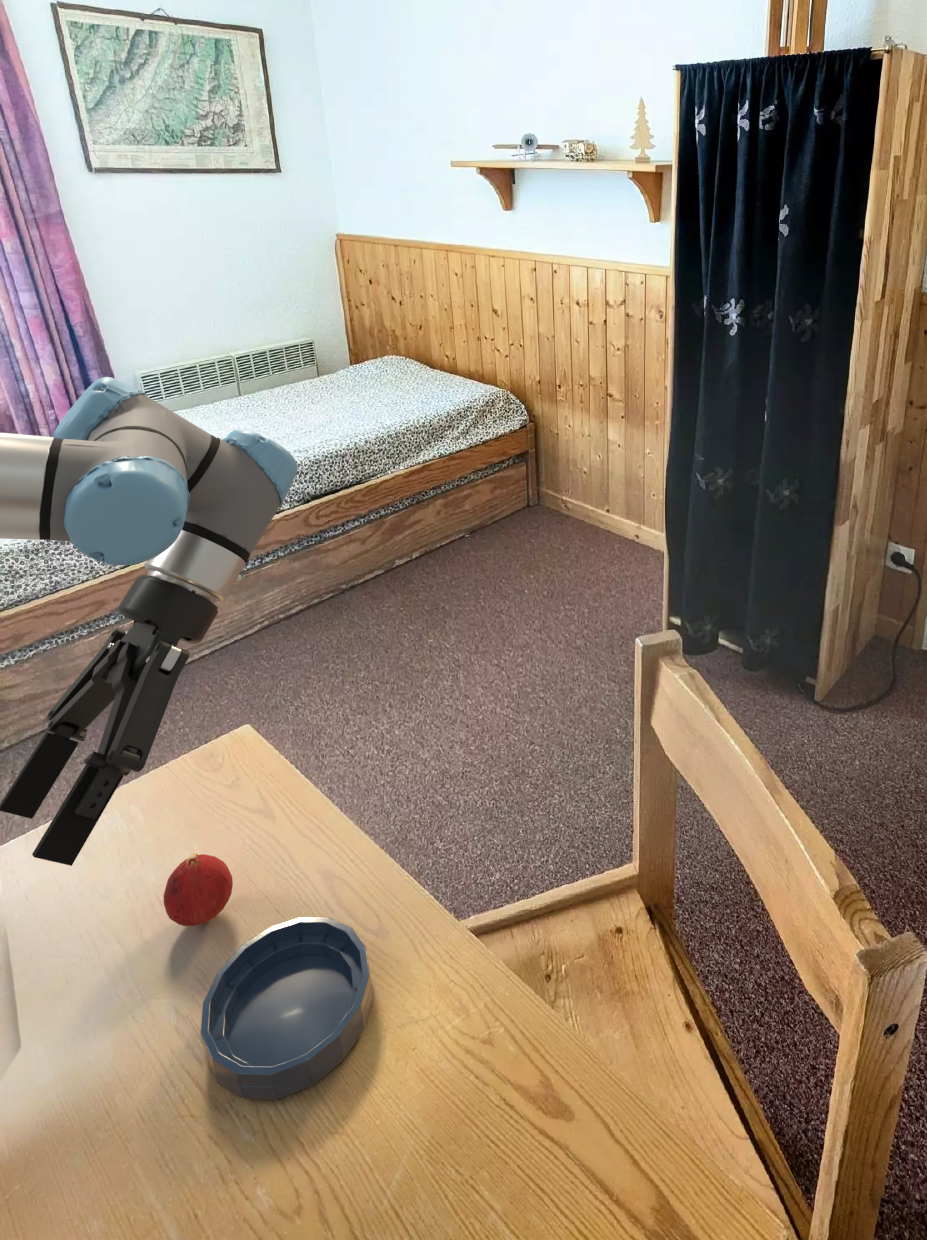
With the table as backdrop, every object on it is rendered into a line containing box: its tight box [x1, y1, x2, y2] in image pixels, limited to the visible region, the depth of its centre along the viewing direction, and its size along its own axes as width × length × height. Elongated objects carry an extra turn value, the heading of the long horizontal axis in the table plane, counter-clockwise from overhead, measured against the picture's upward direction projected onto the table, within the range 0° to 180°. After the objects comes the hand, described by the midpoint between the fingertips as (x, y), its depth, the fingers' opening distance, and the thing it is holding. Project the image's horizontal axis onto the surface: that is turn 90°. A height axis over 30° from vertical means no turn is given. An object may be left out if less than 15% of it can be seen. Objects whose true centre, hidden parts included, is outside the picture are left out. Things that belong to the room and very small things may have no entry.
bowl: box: [200, 916, 374, 1100], centre depth 67 cm, size 13×13×4 cm
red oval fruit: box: [163, 852, 234, 927], centre depth 75 cm, size 6×6×8 cm
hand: (31, 835), depth 62 cm, fingers open, 13 cm apart
